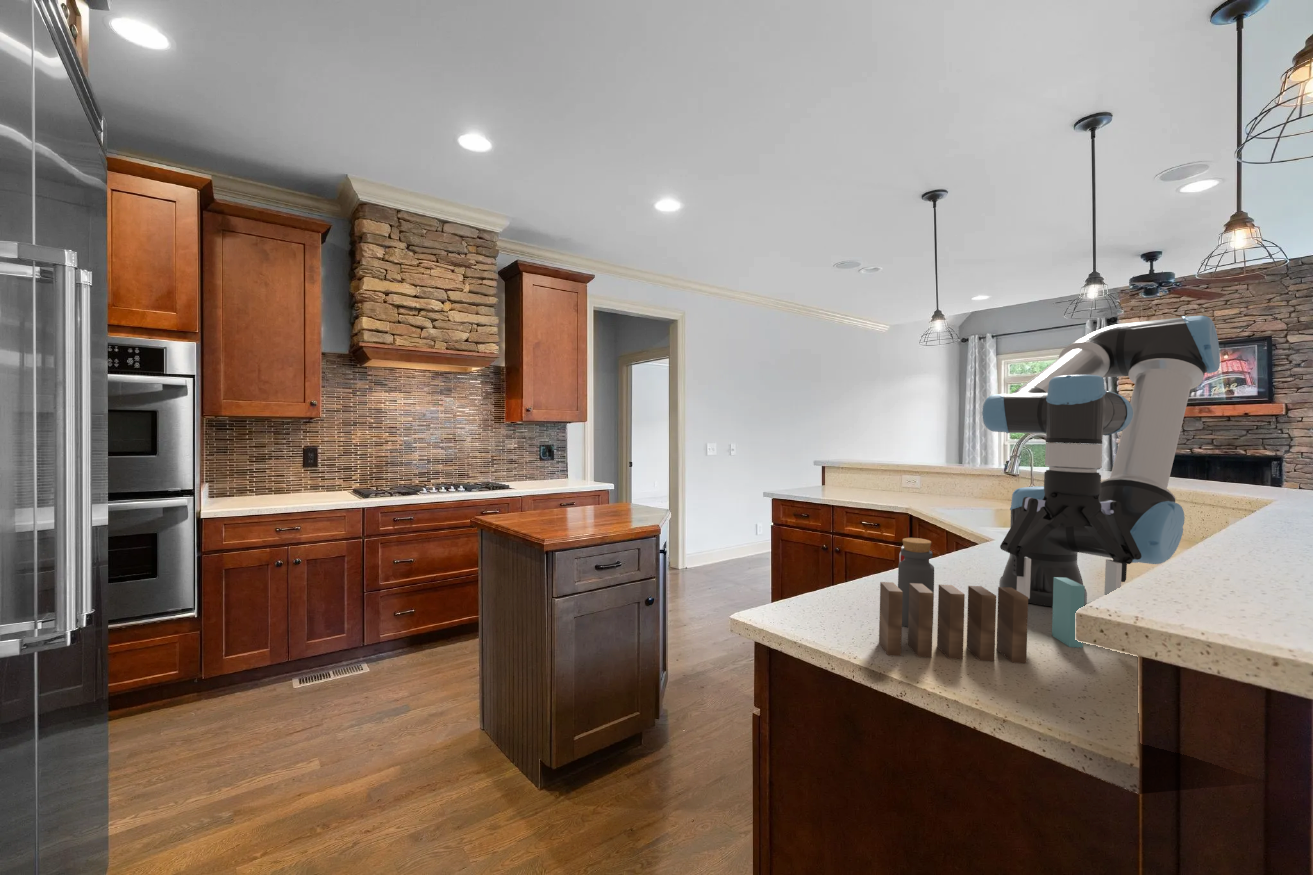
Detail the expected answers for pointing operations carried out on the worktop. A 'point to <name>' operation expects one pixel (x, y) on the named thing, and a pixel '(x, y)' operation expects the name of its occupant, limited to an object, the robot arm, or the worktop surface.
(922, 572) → the bottle
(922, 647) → the tile
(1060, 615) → the tile
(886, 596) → the tile
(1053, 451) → the robot arm
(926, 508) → the worktop surface
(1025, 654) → the tile
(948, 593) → the tile
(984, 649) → the tile
